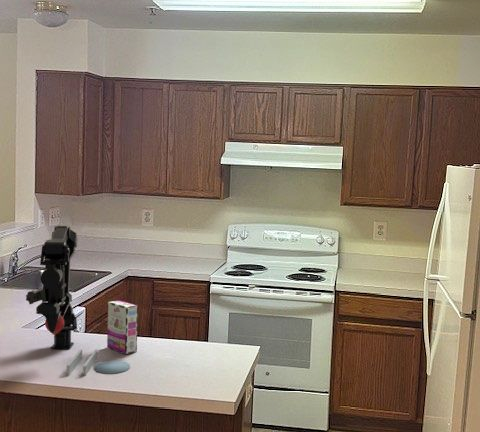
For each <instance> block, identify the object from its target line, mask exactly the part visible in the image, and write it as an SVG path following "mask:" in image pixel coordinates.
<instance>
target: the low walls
mask: <svg viewBox="0 0 480 432" xmlns="http://www.w3.org/2000/svg"><path fill="white" fill-rule="evenodd" d="M82 360H83V349H79V350H78V351H77V352H76V354H75V355H74V356H73V358H71V360H70V361H69V362H68V364H67V365H66V375H67V376H70V375H71V373H72V372H73V371H74V370H75V369H76V367H77V366H78V365H79V363H80V362H81V361H82ZM96 361H98V350H97V349H95V350H93V352H92V354H90V356H89V357H88V359H87V360H86V362H85V363H84V364H83V366H82V367H83V368H82V371H83V372H82V376H87V375H88V373H89V372H90V371H91V369H92V367H94V364H95V363H96Z"/></svg>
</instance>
